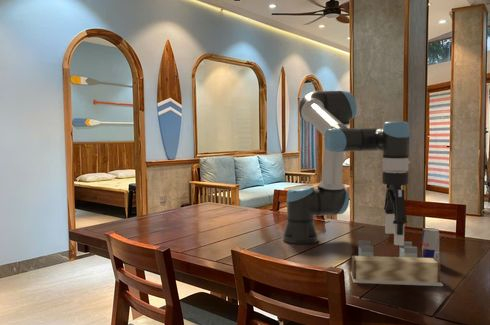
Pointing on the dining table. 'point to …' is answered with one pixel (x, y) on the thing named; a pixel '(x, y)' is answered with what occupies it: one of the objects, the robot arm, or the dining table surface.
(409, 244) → the post right
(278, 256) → the dining table surface
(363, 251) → the post left
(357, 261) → the rail
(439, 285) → the mat
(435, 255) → the energy drink
